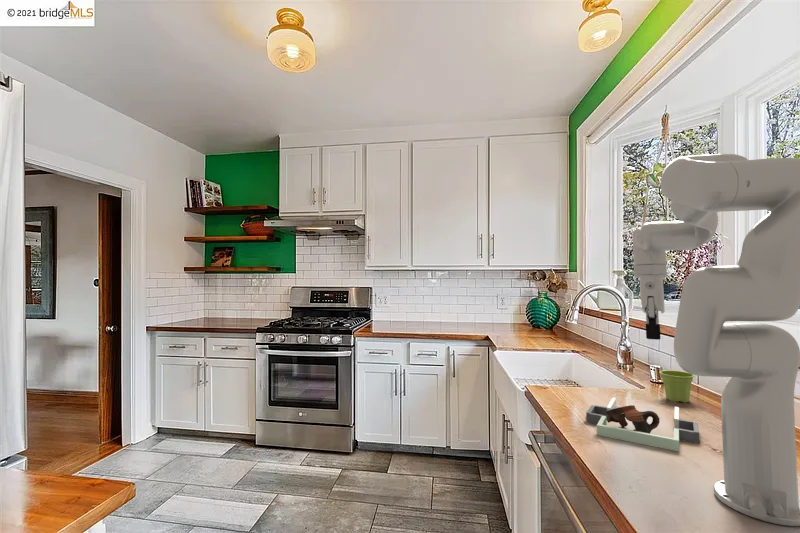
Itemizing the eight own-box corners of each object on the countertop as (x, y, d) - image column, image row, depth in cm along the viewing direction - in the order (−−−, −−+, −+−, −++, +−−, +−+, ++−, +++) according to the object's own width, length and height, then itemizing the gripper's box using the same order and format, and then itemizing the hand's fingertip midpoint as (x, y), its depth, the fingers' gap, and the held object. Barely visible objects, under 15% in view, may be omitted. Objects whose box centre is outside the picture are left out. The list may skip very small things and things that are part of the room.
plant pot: (653, 398, 128) (653, 371, 128) (671, 394, 132) (670, 368, 132) (684, 406, 120) (683, 378, 120) (701, 401, 124) (700, 374, 124)
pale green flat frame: (701, 456, 86) (700, 444, 86) (580, 431, 100) (579, 421, 100) (696, 418, 109) (696, 409, 109) (598, 403, 123) (598, 395, 123)
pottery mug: (620, 443, 94) (605, 409, 98) (612, 446, 102) (599, 414, 106) (672, 433, 92) (655, 398, 96) (660, 437, 100) (644, 405, 104)
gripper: (666, 270, 97) (670, 343, 96) (666, 272, 110) (670, 337, 108) (632, 271, 102) (635, 341, 100) (636, 273, 114) (639, 335, 113)
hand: (653, 338), depth 104 cm, fingers closed
